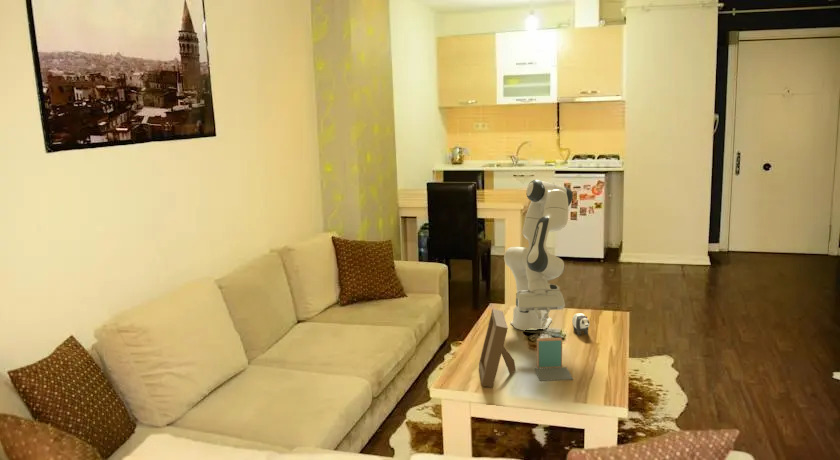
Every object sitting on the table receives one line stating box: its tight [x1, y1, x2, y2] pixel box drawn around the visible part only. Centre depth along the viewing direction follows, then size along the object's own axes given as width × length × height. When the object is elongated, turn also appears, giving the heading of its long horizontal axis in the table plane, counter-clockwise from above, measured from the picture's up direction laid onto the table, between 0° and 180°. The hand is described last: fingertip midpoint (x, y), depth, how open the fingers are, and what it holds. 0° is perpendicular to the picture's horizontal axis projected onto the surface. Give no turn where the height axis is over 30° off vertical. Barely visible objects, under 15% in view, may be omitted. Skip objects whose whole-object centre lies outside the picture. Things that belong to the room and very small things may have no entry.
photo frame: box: [478, 308, 516, 388], centre depth 276 cm, size 15×22×25 cm
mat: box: [534, 366, 574, 382], centre depth 278 cm, size 12×13×1 cm
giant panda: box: [572, 312, 590, 336], centre depth 323 cm, size 15×6×10 cm, turn 4°
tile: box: [536, 337, 563, 368], centre depth 285 cm, size 10×3×12 cm, turn 91°
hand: (543, 318), depth 297 cm, fingers closed
